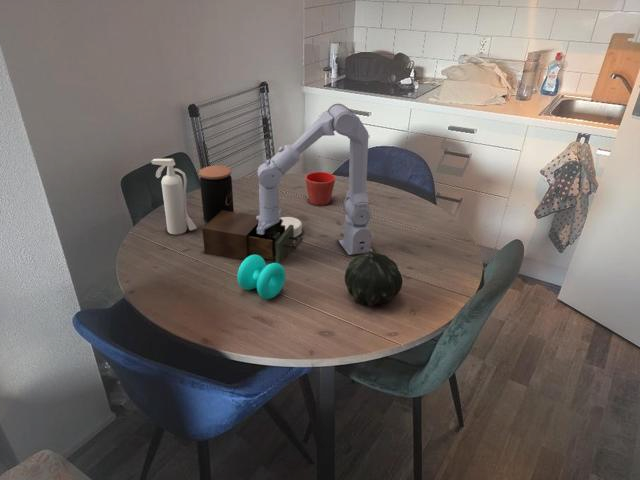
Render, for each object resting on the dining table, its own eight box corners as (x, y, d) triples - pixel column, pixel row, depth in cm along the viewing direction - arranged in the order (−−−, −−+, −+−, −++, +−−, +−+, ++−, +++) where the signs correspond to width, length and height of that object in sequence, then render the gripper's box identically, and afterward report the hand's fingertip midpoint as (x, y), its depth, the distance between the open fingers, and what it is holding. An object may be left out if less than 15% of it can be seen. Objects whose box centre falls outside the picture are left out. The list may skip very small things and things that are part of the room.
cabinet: (264, 240, 161) (263, 216, 157) (247, 260, 150) (246, 235, 146) (224, 233, 166) (222, 210, 161) (204, 252, 155) (202, 228, 150)
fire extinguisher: (192, 237, 163) (183, 164, 150) (159, 233, 166) (147, 161, 153) (200, 228, 169) (192, 157, 156) (168, 224, 172) (158, 154, 158)
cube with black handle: (280, 245, 154) (279, 230, 151) (275, 251, 151) (274, 236, 148) (265, 243, 156) (264, 227, 153) (260, 249, 152) (259, 233, 149)
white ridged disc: (267, 236, 163) (267, 227, 162) (277, 223, 171) (276, 214, 170) (297, 240, 161) (297, 231, 159) (305, 227, 169) (305, 218, 167)
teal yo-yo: (260, 278, 142) (259, 247, 137) (287, 290, 137) (287, 259, 131) (236, 293, 136) (234, 262, 130) (263, 307, 130) (262, 274, 125)
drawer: (305, 246, 156) (306, 227, 152) (292, 265, 146) (292, 245, 142) (254, 237, 161) (253, 218, 158) (238, 255, 151) (237, 235, 148)
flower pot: (324, 209, 181) (325, 184, 176) (299, 202, 187) (299, 177, 182) (339, 200, 188) (340, 175, 183) (315, 193, 194) (316, 169, 189)
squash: (390, 259, 140) (363, 230, 130) (421, 288, 128) (393, 259, 119) (354, 294, 142) (324, 268, 132) (381, 326, 130) (350, 300, 121)
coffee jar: (232, 226, 170) (229, 176, 160) (201, 226, 170) (196, 176, 161) (235, 213, 179) (232, 165, 169) (206, 213, 179) (201, 165, 170)
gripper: (265, 193, 153) (266, 232, 160) (246, 212, 141) (248, 253, 148) (287, 196, 150) (287, 236, 158) (269, 216, 139) (270, 257, 146)
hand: (270, 245), depth 153 cm, fingers closed on cube with black handle, 4 cm apart
